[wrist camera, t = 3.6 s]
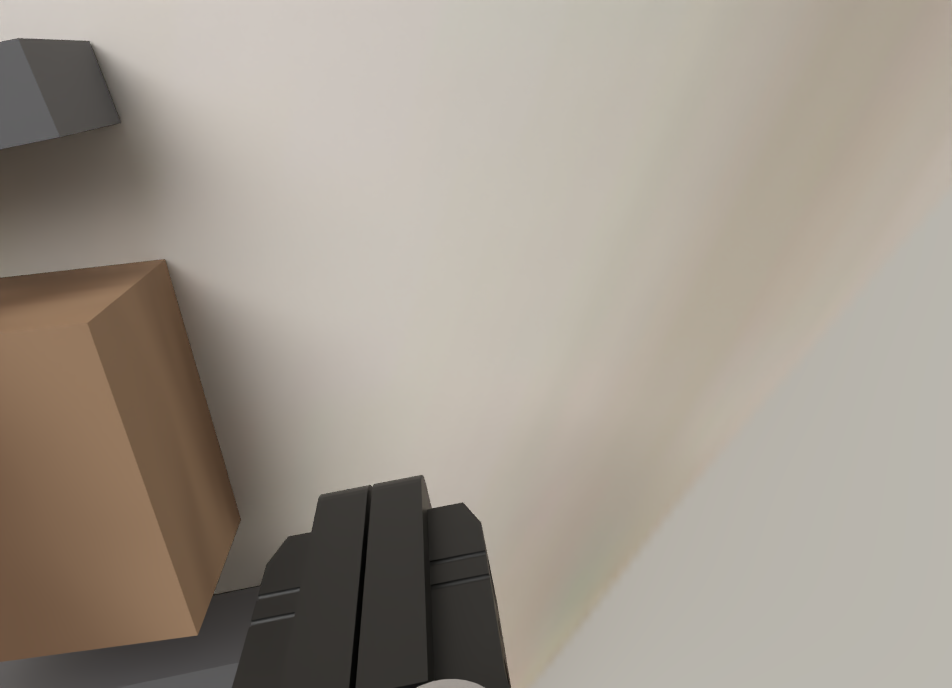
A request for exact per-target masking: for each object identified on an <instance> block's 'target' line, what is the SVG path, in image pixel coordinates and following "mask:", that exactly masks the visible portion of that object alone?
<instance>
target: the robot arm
mask: <svg viewBox="0 0 952 688" xmlns="http://www.w3.org/2000/svg"><path fill="white" fill-rule="evenodd" d="M258 597H259V600H258V601H256V604H255V607H254V611H253V614H252V618H251V627H249V629H248V632H247V636H246V639H245V643H244V646H243V650H242V653H241V657H240V660H239V664H238V668H237V671H236V675H235V678H234V682H233V685H232V688H511V684H510V678H509V672H508V666H507V661H506V654H505V648H504V642H503V636H502V630H501V624H500V618H499V612H498V606H497V600H496V595H495V590H494V585H493V580H492V575H491V570H490V565H489V560H488V555H487V550H486V545H485V540H484V535H483V530H482V525H481V522H480V521H479V520H478V519H477V518H476V516H475V515H474V514H473V513H472V512H471V511H470V510H469V509H468V508H467V506H466V505H465V504H464V503H458V504H453V505H448V506H443V507H437V508H431V503H430V499H429V495H428V491H427V486H426V483H425V479H424V477H423V475H419V476H414V477H409V478H403V479H398V480H393V481H388V482H383V483H378V484H374V485H373V487H372V486H371V485H368V486H363V487H358V488H353V489H347V490H342V491H337V492H332V493H327V494H322V495H320V497H319V499H318V503H317V508H316V513H315V517H314V522H313V527H312V532H310V533H305V534H300V535H294V536H289V537H287V539H286V540H285V541H284V543H283V544H282V545H281V547H280V548H279V549H278V550H277V552H276V553H275V554H274V556H273V557H272V558H271V560H270V561H269V562H268V563H267V565H266V568H265V572H264V575H263V579H262V582H261V586H260V589H259V593H258Z"/></svg>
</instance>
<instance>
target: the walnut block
mask: <svg viewBox="0 0 952 688" xmlns="http://www.w3.org/2000/svg"><path fill="white" fill-rule="evenodd" d="M240 521H241V518H240V515H239V511H238V508H237V504H236V501H235V497H234V494H233V491H232V487H231V484H230V480H229V477H228V473H227V470H226V467H225V463H224V460H223V456H222V453H221V449H220V446H219V443H218V439H217V436H216V432H215V429H214V425H213V422H212V419H211V415H210V412H209V408H208V405H207V401H206V398H205V395H204V391H203V388H202V384H201V381H200V377H199V374H198V371H197V367H196V364H195V360H194V357H193V353H192V350H191V347H190V343H189V340H188V336H187V333H186V329H185V326H184V323H183V319H182V316H181V312H180V309H179V305H178V302H177V299H176V295H175V292H174V288H173V285H172V281H171V278H170V275H169V271H168V268H167V264H166V261H165V259H163V260H154V261H145V262H136V263H128V264H119V265H110V266H101V267H92V268H83V269H74V270H65V271H56V272H48V273H39V274H30V275H21V276H12V277H3V278H0V662H4V661H12V660H19V659H27V658H34V657H41V656H49V655H56V654H64V653H71V652H78V651H86V650H93V649H101V648H108V647H116V646H123V645H130V644H138V643H145V642H153V641H160V640H167V639H175V638H182V637H190V636H197V635H198V633H199V631H200V628H201V625H202V623H203V620H204V617H205V615H206V612H207V609H208V607H209V604H210V601H211V599H212V596H213V593H214V590H215V588H216V585H217V582H218V580H219V577H220V574H221V572H222V569H223V566H224V564H225V561H226V558H227V556H228V553H229V550H230V548H231V545H232V542H233V540H234V537H235V534H236V531H237V529H238V526H239V523H240Z"/></svg>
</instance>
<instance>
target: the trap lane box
mask: <svg viewBox="0 0 952 688" xmlns="http://www.w3.org/2000/svg"><path fill="white" fill-rule="evenodd" d="M117 123H121V122H120V119H119V116H118V114H117V111H116V109H115V106H114V104H113V101H112V98H111V96H110V93H109V91H108V88H107V85H106V83H105V80H104V78H103V75H102V72H101V70H100V67H99V65H98V62H97V59H96V57H95V54H94V52H93V49H92V47H91V44H90V41H75V40H49V39H23V38H17V39H12V40H7V41H2V42H0V149H4V148H9V147H14V146H19V145H24V144H29V143H34V142H38V141H43V140H48V139H53V138H58V137H63V136H67V135H71V134H75V133H79V132H84V131H88V130H92V129H96V128H101V127H105V126H109V125H113V124H117ZM259 589H260V586H257V587H252V588H248V589H243V590H238V591H233V592H228V593H223V594H219V595H214V596H212V599H211V601H210V604H209V607H208V609H207V612H206V615H205V617H204V620H203V623H202V625H201V628H200V631H199V633H198V635H197V636H190V637H182V638H175V639H167V640H160V641H153V642H145V643H138V644H130V645H123V646H116V647H108V648H101V649H93V650H86V651H78V652H71V653H64V654H56V655H49V656H41V657H34V658H27V659H19V660H12V661H4V662H0V688H232V685H233V682H234V678H235V675H236V671H237V668H238V664H239V660H240V657H241V653H242V650H243V646H244V643H245V639H246V636H247V632H248V629H249V627H251V618H252V614H253V611H254V607H255V604H256V601H258V600H259V597H258V593H259Z"/></svg>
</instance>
